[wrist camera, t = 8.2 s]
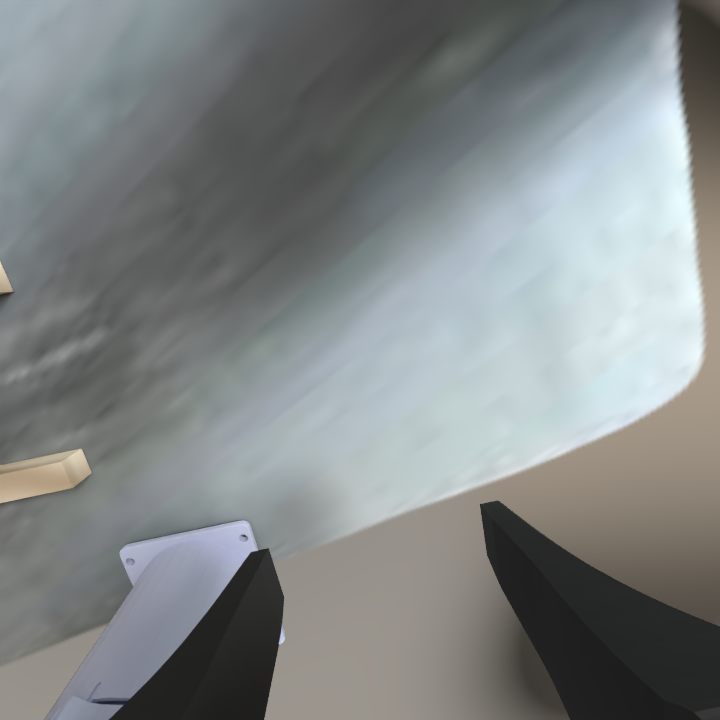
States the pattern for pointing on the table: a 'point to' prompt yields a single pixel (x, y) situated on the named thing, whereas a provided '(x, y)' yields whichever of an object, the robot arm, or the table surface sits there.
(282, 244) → the table surface
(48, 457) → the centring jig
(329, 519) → the table surface
